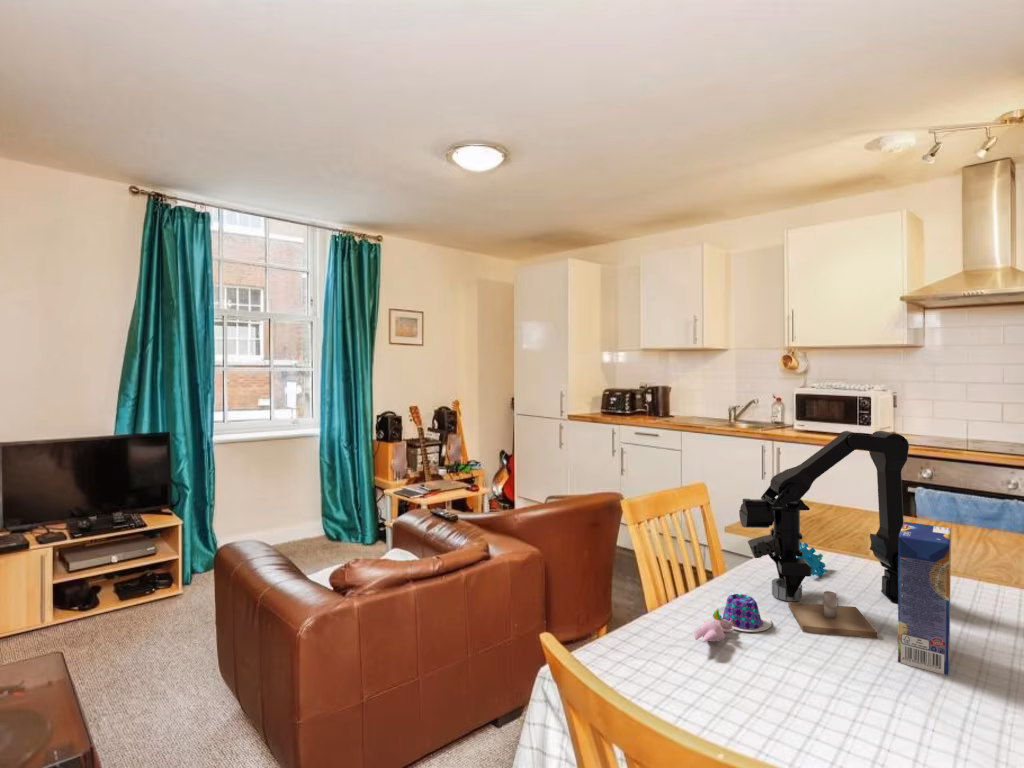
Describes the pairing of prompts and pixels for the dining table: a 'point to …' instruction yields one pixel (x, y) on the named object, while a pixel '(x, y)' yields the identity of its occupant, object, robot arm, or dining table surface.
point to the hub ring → (784, 590)
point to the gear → (812, 559)
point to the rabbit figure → (714, 628)
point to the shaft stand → (831, 618)
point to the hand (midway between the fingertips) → (786, 591)
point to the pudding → (744, 613)
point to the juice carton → (924, 596)
